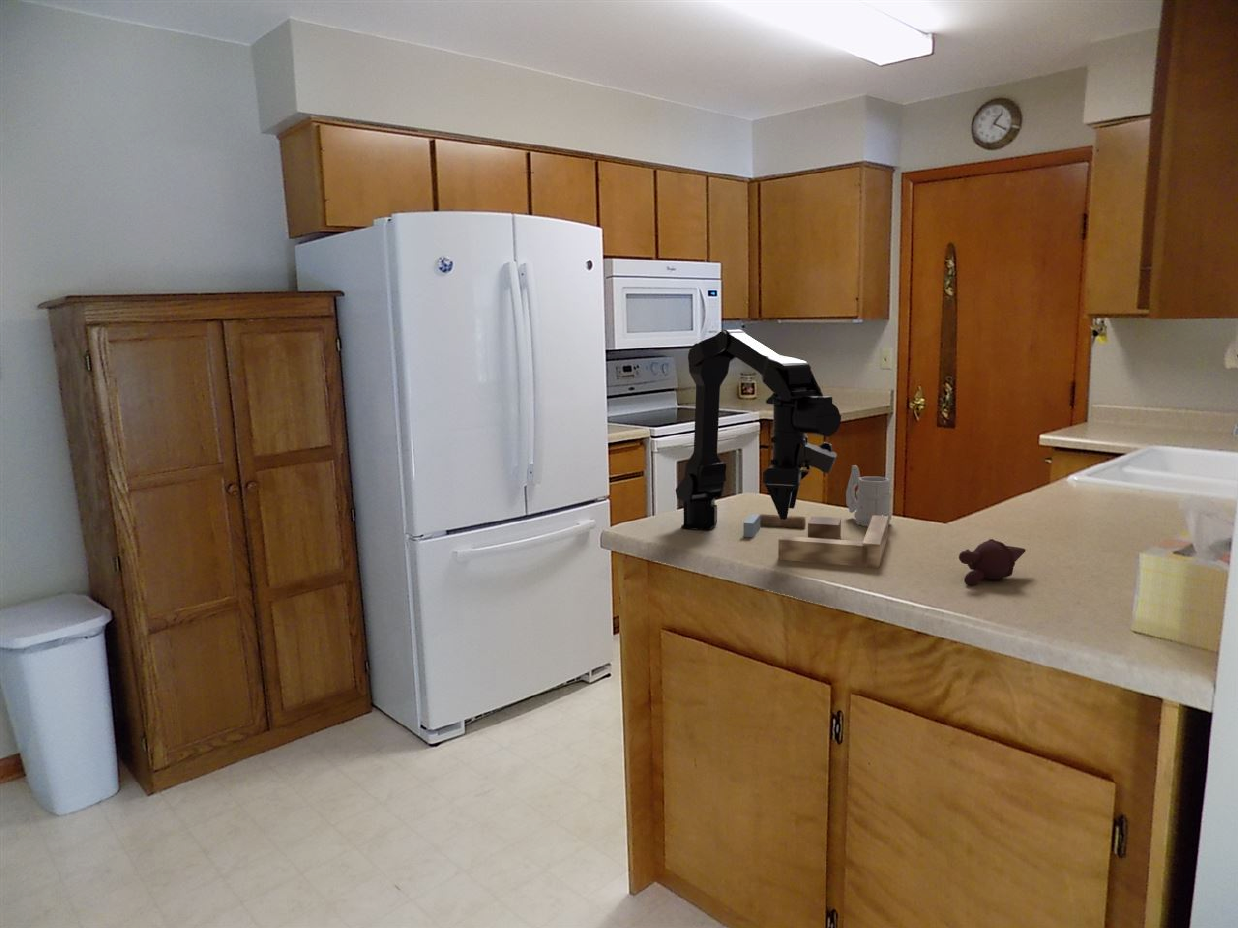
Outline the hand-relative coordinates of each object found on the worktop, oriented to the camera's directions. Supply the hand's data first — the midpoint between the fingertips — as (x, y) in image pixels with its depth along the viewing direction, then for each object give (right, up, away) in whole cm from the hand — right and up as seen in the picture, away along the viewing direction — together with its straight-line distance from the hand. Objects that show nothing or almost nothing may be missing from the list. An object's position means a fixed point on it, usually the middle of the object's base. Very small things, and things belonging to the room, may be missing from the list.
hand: (787, 513), depth 150 cm
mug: (+23, -4, +28) cm, 36 cm away
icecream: (+32, -10, -13) cm, 36 cm away
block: (+10, -6, +14) cm, 19 cm away
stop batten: (-3, -5, +20) cm, 21 cm away
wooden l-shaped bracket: (+11, -7, +8) cm, 15 cm away
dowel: (+4, -4, +25) cm, 26 cm away
